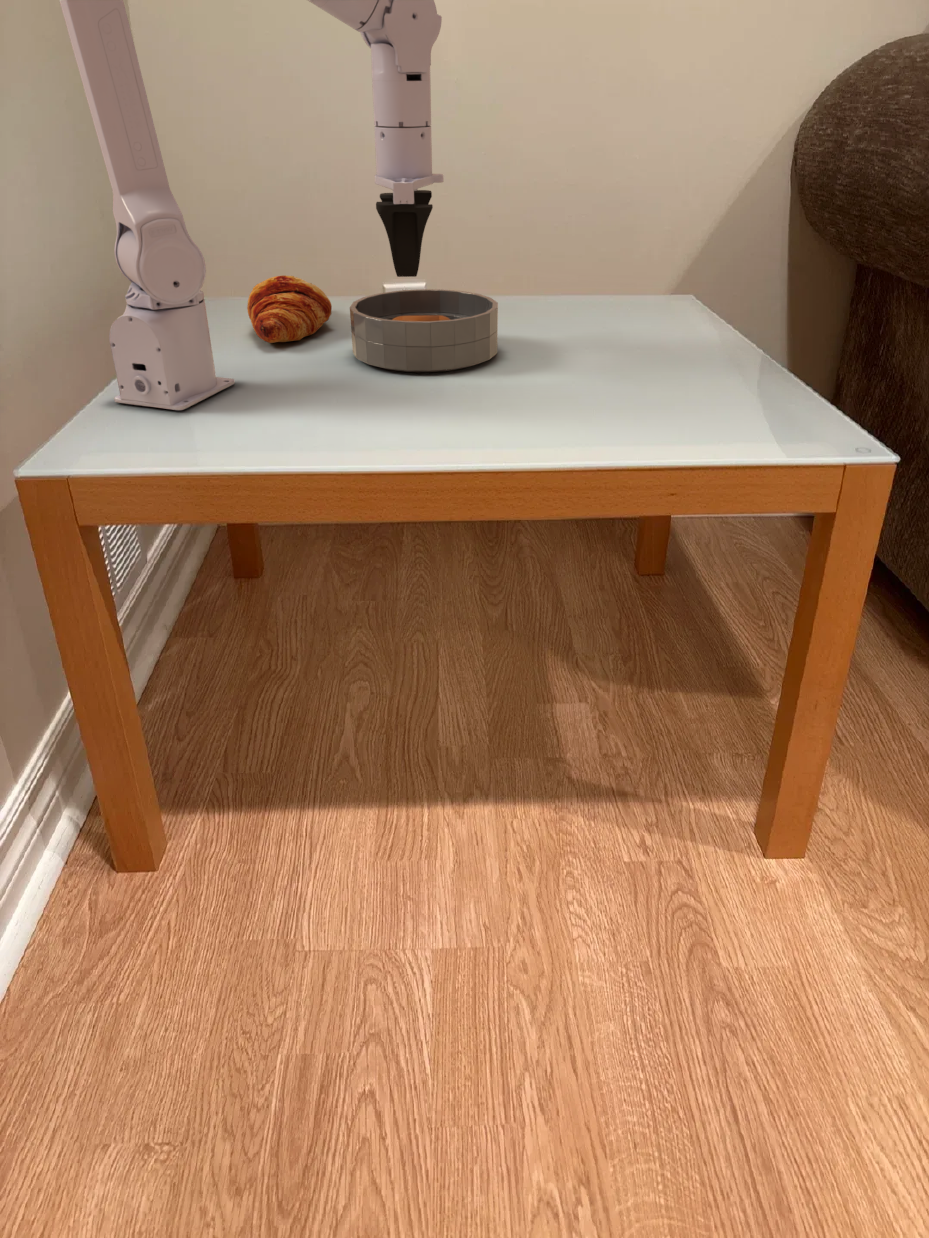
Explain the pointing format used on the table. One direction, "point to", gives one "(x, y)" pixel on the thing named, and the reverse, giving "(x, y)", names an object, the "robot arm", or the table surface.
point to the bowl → (424, 330)
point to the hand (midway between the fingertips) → (407, 269)
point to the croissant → (287, 309)
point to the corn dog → (421, 318)
